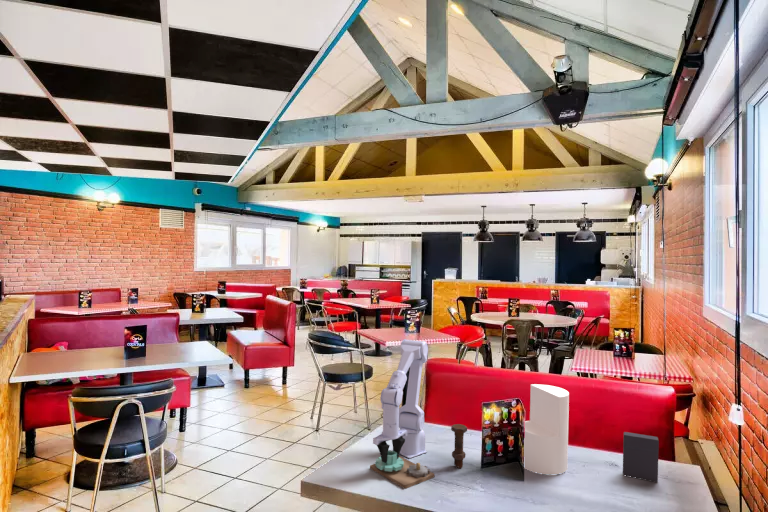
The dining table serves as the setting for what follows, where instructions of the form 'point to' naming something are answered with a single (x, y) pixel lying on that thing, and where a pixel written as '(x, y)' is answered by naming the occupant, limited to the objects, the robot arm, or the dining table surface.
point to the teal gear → (390, 462)
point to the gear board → (406, 474)
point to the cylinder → (547, 430)
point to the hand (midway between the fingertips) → (390, 459)
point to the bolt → (458, 444)
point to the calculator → (640, 456)
